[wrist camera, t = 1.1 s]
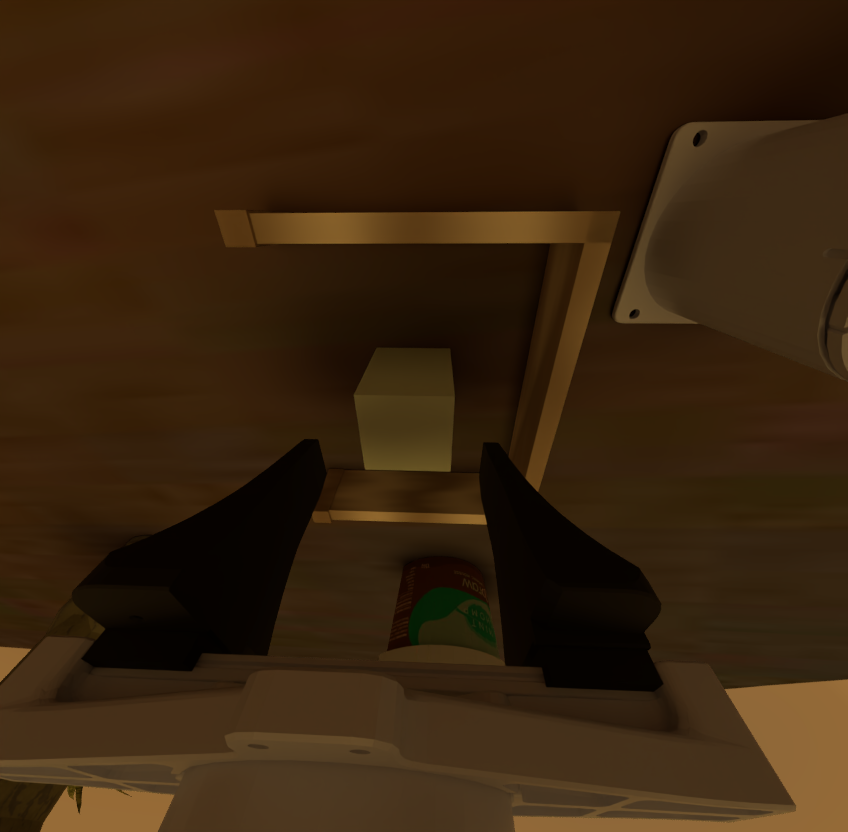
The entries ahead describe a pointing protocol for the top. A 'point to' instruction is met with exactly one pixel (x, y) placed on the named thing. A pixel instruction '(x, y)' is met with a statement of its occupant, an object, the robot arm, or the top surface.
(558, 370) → the open crate
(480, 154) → the top surface
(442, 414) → the sage block
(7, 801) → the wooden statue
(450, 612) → the food container
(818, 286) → the robot arm
